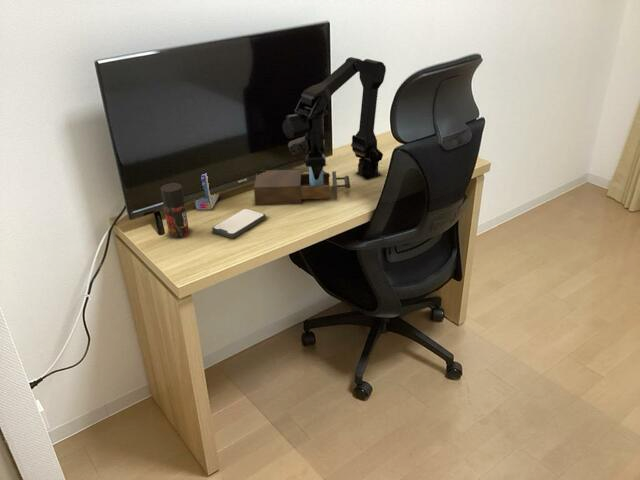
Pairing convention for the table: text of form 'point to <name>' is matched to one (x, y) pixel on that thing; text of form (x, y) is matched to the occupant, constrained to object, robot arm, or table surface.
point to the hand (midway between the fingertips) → (316, 176)
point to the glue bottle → (312, 180)
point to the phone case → (238, 223)
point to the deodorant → (175, 210)
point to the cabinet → (278, 187)
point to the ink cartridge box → (206, 196)
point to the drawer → (321, 186)
